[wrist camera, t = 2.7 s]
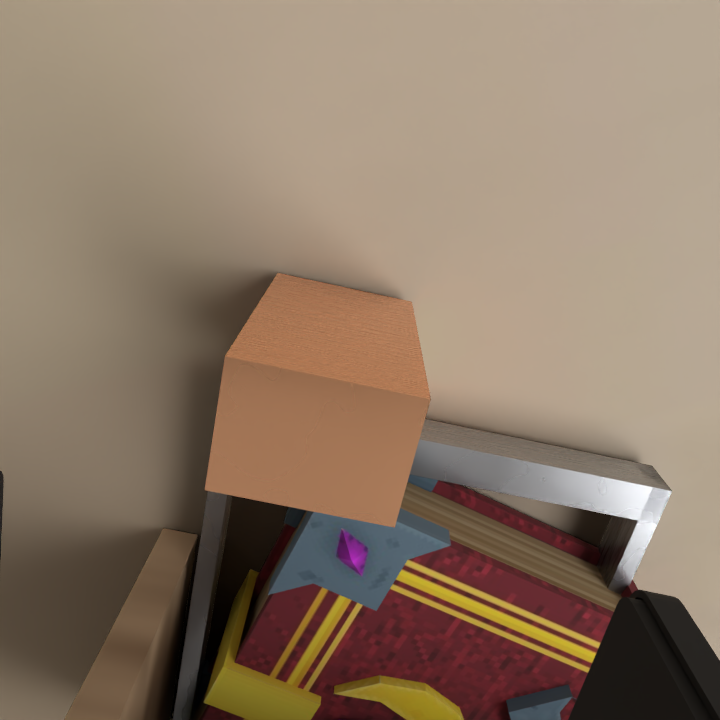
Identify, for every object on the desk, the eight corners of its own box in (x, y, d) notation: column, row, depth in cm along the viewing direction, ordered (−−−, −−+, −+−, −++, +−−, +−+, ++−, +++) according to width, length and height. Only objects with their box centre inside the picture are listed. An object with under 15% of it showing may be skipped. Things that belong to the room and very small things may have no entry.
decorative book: (625, 548, 22) (690, 661, 18) (407, 825, 28) (414, 968, 23) (332, 413, 21) (320, 498, 16) (160, 734, 26) (113, 868, 22)
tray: (250, 266, 19) (182, 347, 12) (695, 363, 19) (859, 488, 13) (162, 826, 27) (94, 1050, 21) (473, 878, 28) (503, 1111, 21)
